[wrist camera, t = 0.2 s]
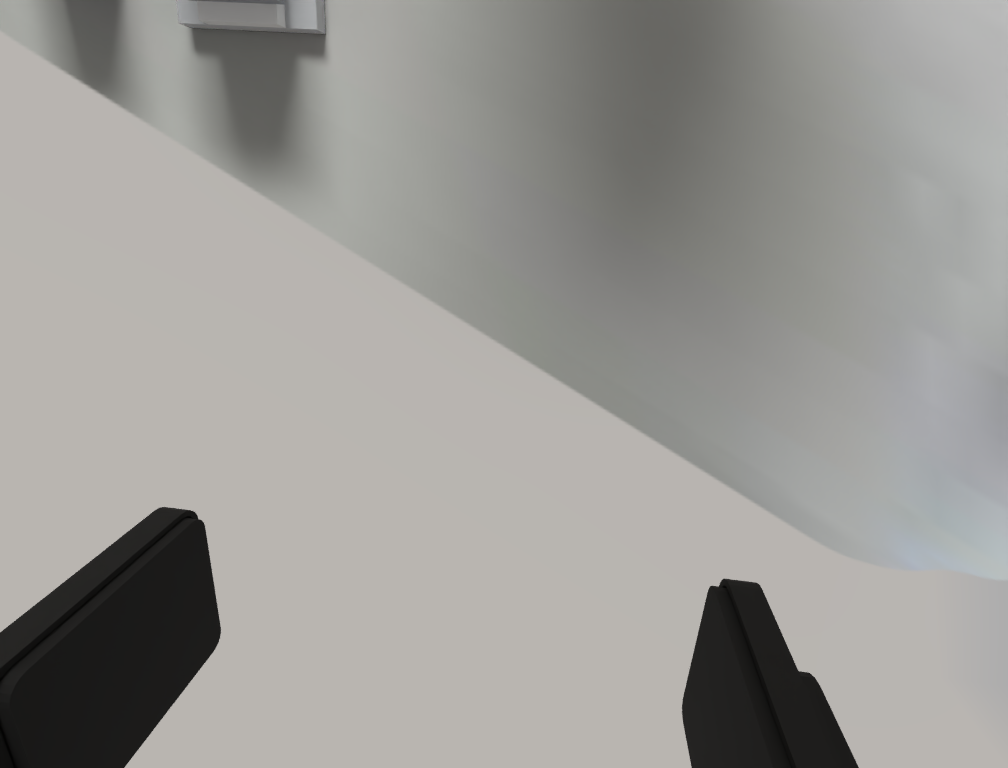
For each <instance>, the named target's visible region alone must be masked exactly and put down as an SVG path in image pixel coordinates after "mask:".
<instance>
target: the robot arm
mask: <svg viewBox="0 0 1008 768" xmlns="http://www.w3.org/2000/svg"><path fill="white" fill-rule="evenodd" d="M220 634H221V627H220V621H219V614H218V608H217V602H216V595H215V589H214V582H213V576H212V569H211V563H210V556H209V550H208V543H207V537H206V530H205V525H204V523H203V522H202V520H199V519H198V516H197V515H196V513H195V512H193V511H191V510H182V509H175V508H167V507H162V508H159V509H157V510H155V511H154V512H152V513H151V514H150V515H149V516H147V517H146V518H145V519H144V520H142V521H141V522H140V523H138V524H137V525H136V526H135V527H133V528H132V529H131V530H130V531H128V532H127V533H126V534H125V535H123V536H122V537H121V538H119V539H118V540H117V541H116V542H114V543H113V544H112V545H111V546H109V547H108V548H107V549H106V550H105V551H103V552H102V553H101V554H99V555H98V556H97V557H95V558H94V559H93V560H92V561H90V562H89V563H88V564H87V565H85V566H84V567H83V568H81V569H80V570H79V571H78V572H76V573H75V574H74V575H73V576H71V577H70V578H69V579H68V580H66V581H65V582H64V583H62V584H61V585H60V586H59V587H57V588H56V589H55V590H54V591H52V592H51V593H50V594H49V595H47V596H46V597H45V598H43V599H42V600H41V601H40V602H38V603H37V604H36V605H35V606H33V607H32V608H31V609H30V610H28V611H27V612H26V613H24V614H23V615H22V616H21V617H19V618H18V619H17V620H16V621H14V622H13V623H12V624H11V625H9V626H8V627H7V628H6V629H4V630H3V631H2V632H0V768H124V767H125V766H126V764H127V763H128V762H129V761H130V759H131V758H132V757H133V755H134V754H135V753H136V751H137V750H138V749H139V748H140V746H141V745H142V744H143V742H144V741H145V740H146V738H147V737H148V736H149V735H150V733H151V732H152V731H153V729H154V728H155V727H156V725H157V724H158V723H159V722H160V720H161V719H162V718H163V716H164V715H165V714H166V713H167V711H168V710H169V708H170V707H171V706H172V704H173V703H174V702H175V701H176V700H177V698H178V697H179V696H180V694H181V693H182V692H183V690H184V689H185V688H186V687H187V685H188V683H190V681H191V680H192V679H193V677H194V676H195V675H196V673H197V672H198V671H199V670H200V668H201V667H202V666H203V664H204V663H205V662H206V660H207V659H208V658H209V657H210V655H211V654H212V653H213V651H214V650H215V648H216V646H217V644H218V642H219V639H220ZM682 715H683V724H684V728H685V734H686V740H687V745H688V750H689V755H690V761H691V766H692V768H859V767H858V765H857V763H856V761H855V759H854V757H853V755H852V753H851V750H850V748H849V746H848V744H847V742H846V740H845V738H844V736H843V734H842V731H841V729H840V727H839V725H838V723H837V721H836V719H835V717H834V714H833V712H832V710H831V708H830V706H829V704H828V702H827V700H826V697H825V696H824V693H823V691H822V689H821V687H820V685H819V684H818V682H817V680H816V679H815V677H813V676H812V675H811V674H810V673H807V672H799V671H798V670H797V667H796V665H795V663H794V660H793V658H792V656H791V654H790V652H789V649H788V647H787V645H786V642H785V640H784V638H783V636H782V633H781V631H780V629H779V627H778V624H777V622H776V620H775V617H774V615H773V613H772V611H771V609H770V606H769V604H768V602H767V599H766V597H765V595H764V593H763V590H762V588H761V587H760V585H759V584H758V583H753V582H746V581H738V580H730V579H723V580H722V581H721V583H720V585H719V587H716V586H710V588H709V590H708V593H707V598H706V602H705V606H704V611H703V615H702V619H701V624H700V628H699V632H698V636H697V641H696V645H695V649H694V654H693V658H692V662H691V667H690V671H689V675H688V680H687V684H686V688H685V692H684V697H683V704H682Z"/></svg>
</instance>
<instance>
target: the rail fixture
mask: <svg viewBox="0 0 1008 768" xmlns="http://www.w3.org/2000/svg"><path fill="white" fill-rule="evenodd" d="M176 5H177V13H178V21H179V23H180V24H182V25H185V26H188V27H190V28H207V29H228V30H249V31H271V32H292V33H313V34H326V32H325V9H324V0H176Z"/></svg>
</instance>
